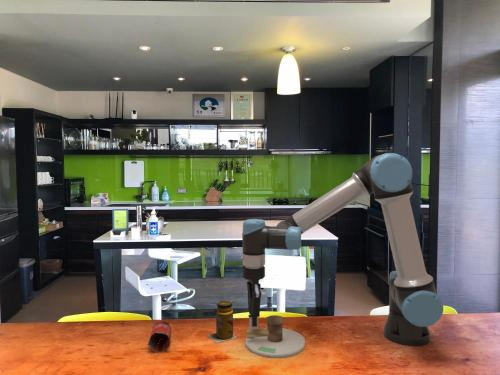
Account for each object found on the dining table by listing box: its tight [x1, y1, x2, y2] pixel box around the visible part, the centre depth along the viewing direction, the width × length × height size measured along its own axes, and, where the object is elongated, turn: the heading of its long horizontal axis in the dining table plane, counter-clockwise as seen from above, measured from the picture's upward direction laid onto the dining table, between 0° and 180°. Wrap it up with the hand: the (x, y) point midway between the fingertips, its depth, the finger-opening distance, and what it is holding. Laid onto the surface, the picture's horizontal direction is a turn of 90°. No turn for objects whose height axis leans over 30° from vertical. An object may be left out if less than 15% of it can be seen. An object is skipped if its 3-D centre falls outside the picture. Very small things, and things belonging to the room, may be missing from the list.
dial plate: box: [245, 327, 306, 359], centre depth 133 cm, size 20×20×2 cm
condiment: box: [206, 300, 238, 344], centre depth 139 cm, size 7×8×12 cm
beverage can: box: [147, 320, 172, 354], centre depth 133 cm, size 7×12×7 cm, turn 8°
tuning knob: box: [246, 314, 285, 342], centre depth 132 cm, size 12×6×7 cm, turn 98°
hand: (253, 334), depth 133 cm, fingers closed
